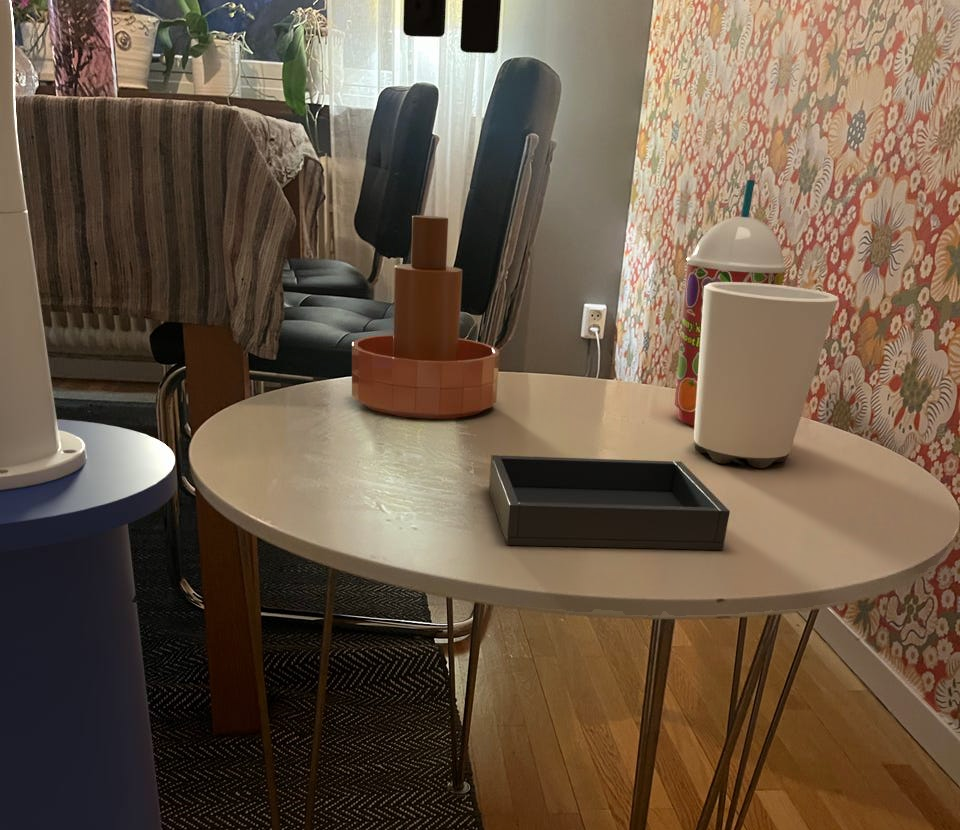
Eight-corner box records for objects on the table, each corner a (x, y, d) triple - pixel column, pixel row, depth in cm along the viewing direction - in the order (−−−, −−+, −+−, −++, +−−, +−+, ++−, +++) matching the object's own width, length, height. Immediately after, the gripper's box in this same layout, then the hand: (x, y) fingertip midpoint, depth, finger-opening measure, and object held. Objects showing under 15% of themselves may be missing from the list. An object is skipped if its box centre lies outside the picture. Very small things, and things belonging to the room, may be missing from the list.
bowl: (350, 418, 80) (350, 357, 78) (353, 385, 91) (353, 331, 89) (502, 424, 81) (507, 364, 79) (487, 390, 93) (490, 338, 91)
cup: (654, 451, 76) (678, 284, 71) (717, 433, 83) (744, 279, 77) (765, 482, 71) (801, 303, 65) (823, 460, 77) (861, 296, 71)
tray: (506, 545, 56) (509, 504, 55) (488, 490, 65) (491, 454, 64) (722, 550, 57) (730, 511, 56) (676, 496, 66) (681, 461, 65)
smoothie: (644, 417, 87) (678, 175, 78) (701, 407, 92) (738, 179, 83) (718, 439, 81) (764, 181, 72) (774, 427, 86) (823, 185, 77)
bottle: (392, 403, 83) (396, 216, 77) (391, 388, 88) (395, 212, 82) (458, 405, 84) (467, 221, 77) (453, 391, 89) (462, 217, 82)
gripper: (468, -196, 75) (457, 56, 83) (354, -288, 61) (353, 28, 68) (557, -203, 72) (537, 59, 80) (459, -300, 58) (446, 29, 66)
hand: (452, 44), depth 74 cm, fingers open, 9 cm apart
